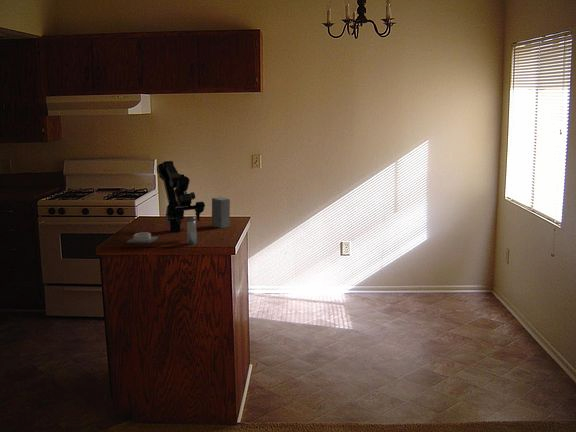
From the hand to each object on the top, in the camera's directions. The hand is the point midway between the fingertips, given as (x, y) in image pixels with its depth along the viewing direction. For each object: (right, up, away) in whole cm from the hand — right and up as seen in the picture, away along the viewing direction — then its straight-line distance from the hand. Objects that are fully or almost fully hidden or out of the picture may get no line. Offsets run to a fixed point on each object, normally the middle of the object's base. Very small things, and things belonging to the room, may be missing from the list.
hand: (189, 222), depth 311 cm
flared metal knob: (+2, -10, -1) cm, 11 cm away
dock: (-25, -9, +9) cm, 28 cm away
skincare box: (+12, -3, +35) cm, 37 cm away
